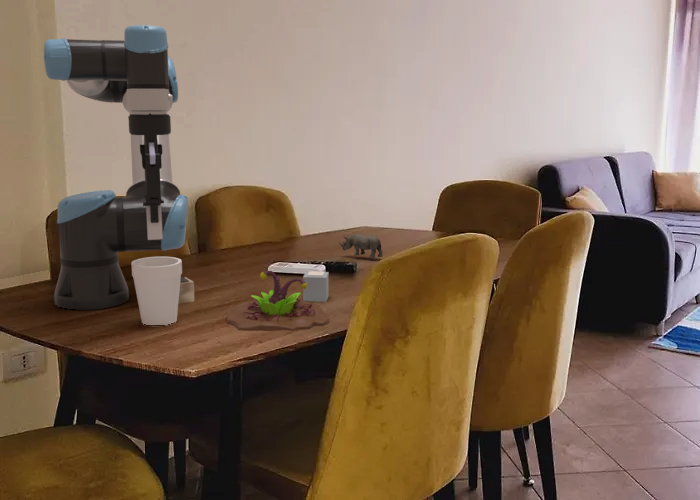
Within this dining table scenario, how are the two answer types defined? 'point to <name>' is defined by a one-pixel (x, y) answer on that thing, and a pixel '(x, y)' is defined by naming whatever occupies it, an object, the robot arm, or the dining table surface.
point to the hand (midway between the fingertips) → (155, 238)
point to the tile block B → (316, 286)
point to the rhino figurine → (363, 244)
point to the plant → (277, 310)
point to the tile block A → (186, 291)
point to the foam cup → (157, 288)
